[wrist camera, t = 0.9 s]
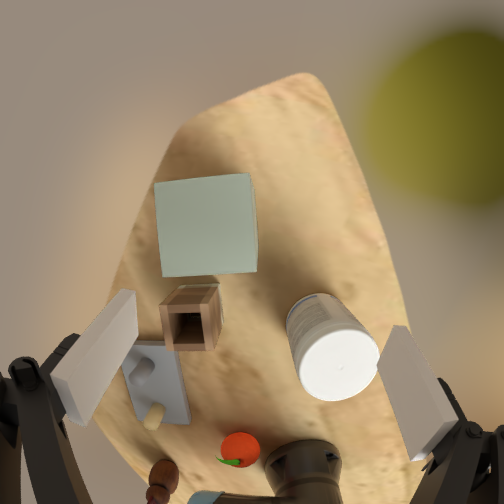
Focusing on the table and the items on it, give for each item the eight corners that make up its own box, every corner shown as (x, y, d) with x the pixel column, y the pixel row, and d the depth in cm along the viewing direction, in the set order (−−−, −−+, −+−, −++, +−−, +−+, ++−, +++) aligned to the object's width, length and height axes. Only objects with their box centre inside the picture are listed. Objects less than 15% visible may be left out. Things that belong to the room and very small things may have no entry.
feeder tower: (258, 248, 43) (256, 275, 25) (203, 252, 43) (163, 281, 25) (254, 189, 42) (249, 172, 24) (198, 194, 42) (153, 183, 24)
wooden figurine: (153, 453, 49) (132, 503, 34) (180, 459, 49) (163, 512, 34) (157, 471, 50) (138, 519, 35) (182, 477, 50) (167, 527, 35)
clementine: (221, 450, 48) (217, 476, 41) (213, 426, 47) (207, 451, 40) (262, 448, 48) (262, 474, 41) (257, 423, 47) (256, 449, 40)
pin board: (191, 418, 47) (183, 442, 40) (141, 414, 48) (128, 436, 41) (176, 340, 45) (163, 360, 38) (120, 339, 46) (102, 357, 39)
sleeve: (223, 321, 45) (214, 350, 35) (185, 322, 45) (166, 350, 35) (219, 283, 44) (208, 303, 34) (180, 285, 44) (158, 305, 34)
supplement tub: (284, 350, 45) (293, 406, 30) (285, 292, 44) (296, 330, 29) (345, 347, 45) (374, 398, 30) (349, 290, 43) (386, 324, 29)
